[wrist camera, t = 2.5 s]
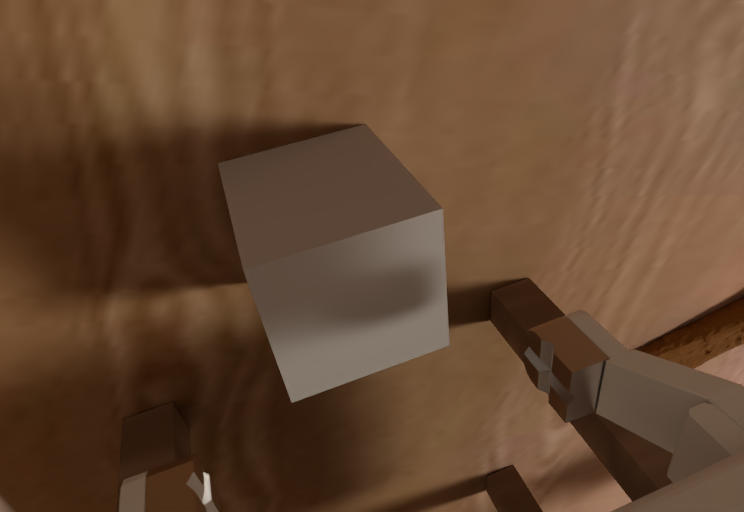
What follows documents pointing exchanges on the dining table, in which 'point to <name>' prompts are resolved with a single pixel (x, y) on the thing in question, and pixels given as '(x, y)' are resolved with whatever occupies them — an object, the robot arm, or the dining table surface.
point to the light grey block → (339, 257)
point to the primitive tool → (702, 337)
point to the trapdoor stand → (506, 488)
